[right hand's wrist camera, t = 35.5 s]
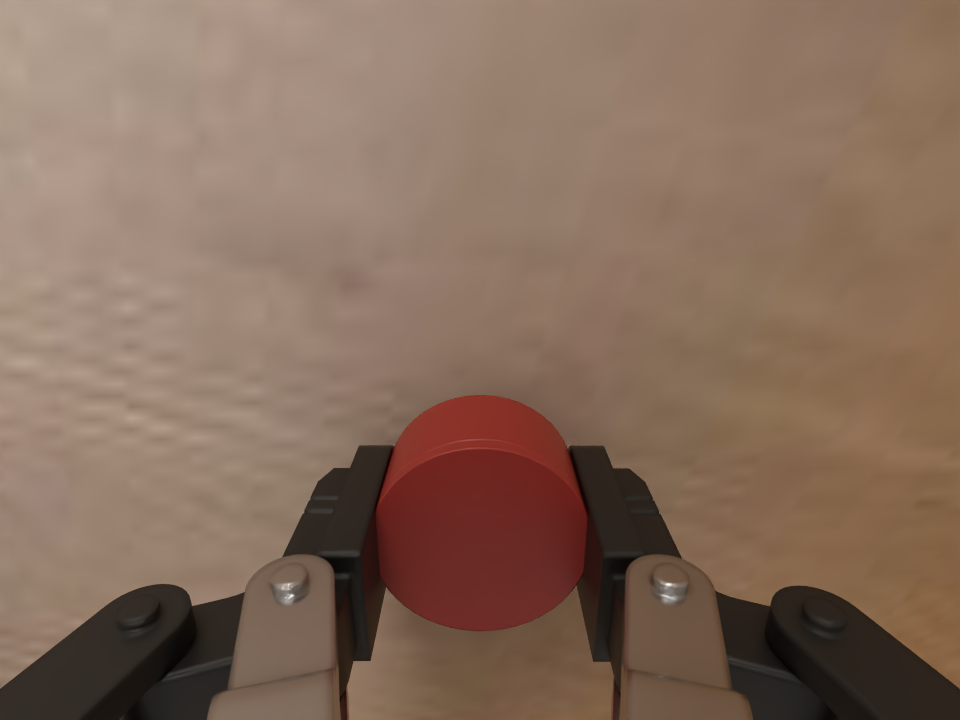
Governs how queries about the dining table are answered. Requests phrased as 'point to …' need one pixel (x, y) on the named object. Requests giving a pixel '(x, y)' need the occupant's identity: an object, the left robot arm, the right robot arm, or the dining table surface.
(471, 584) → the cap
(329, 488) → the right robot arm
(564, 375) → the dining table surface
